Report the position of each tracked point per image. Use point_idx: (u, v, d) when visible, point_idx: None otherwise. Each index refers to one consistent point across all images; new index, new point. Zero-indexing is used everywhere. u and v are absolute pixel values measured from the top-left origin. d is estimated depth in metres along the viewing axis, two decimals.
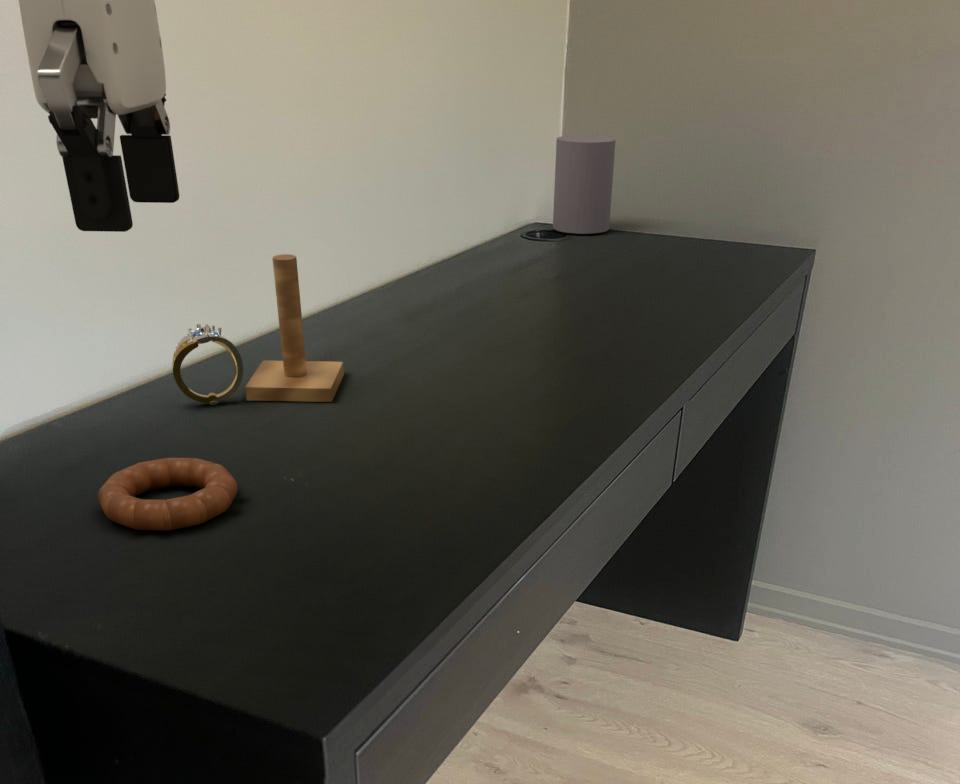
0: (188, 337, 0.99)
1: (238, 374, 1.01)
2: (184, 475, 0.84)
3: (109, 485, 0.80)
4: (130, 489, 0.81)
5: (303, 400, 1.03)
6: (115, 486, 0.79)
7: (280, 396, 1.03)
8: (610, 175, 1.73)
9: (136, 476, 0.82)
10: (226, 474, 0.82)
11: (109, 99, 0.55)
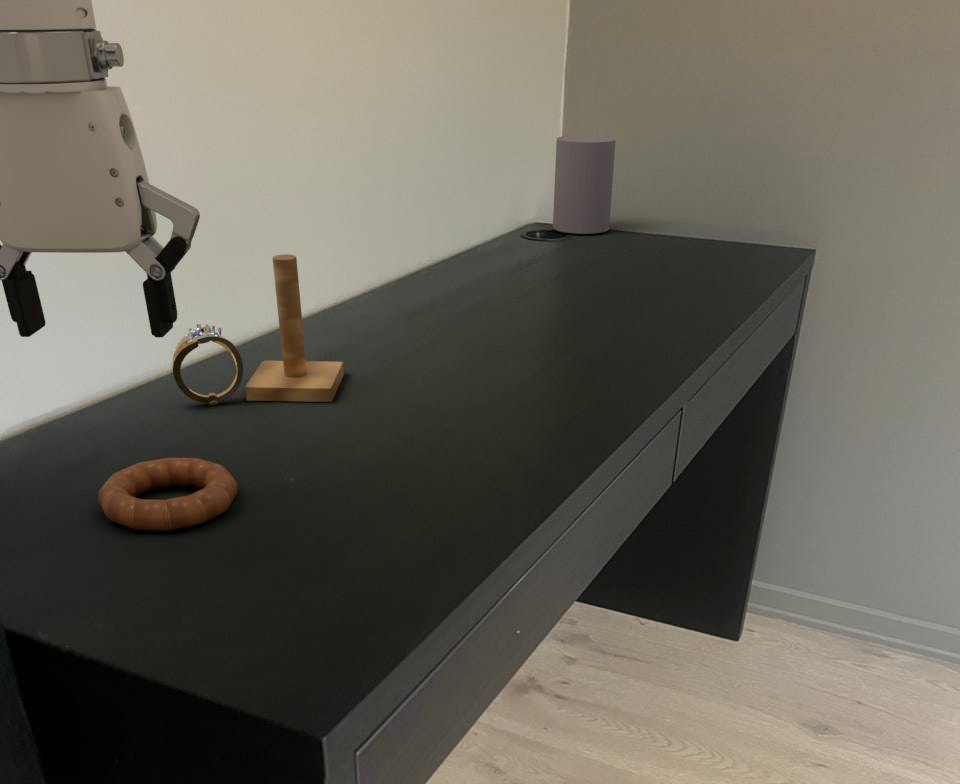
0: (188, 337, 0.99)
1: (238, 374, 1.01)
2: (184, 475, 0.84)
3: (109, 485, 0.80)
4: (130, 489, 0.81)
5: (303, 400, 1.03)
6: (115, 486, 0.79)
7: (280, 396, 1.03)
8: (610, 175, 1.73)
9: (136, 476, 0.82)
10: (226, 474, 0.82)
11: None
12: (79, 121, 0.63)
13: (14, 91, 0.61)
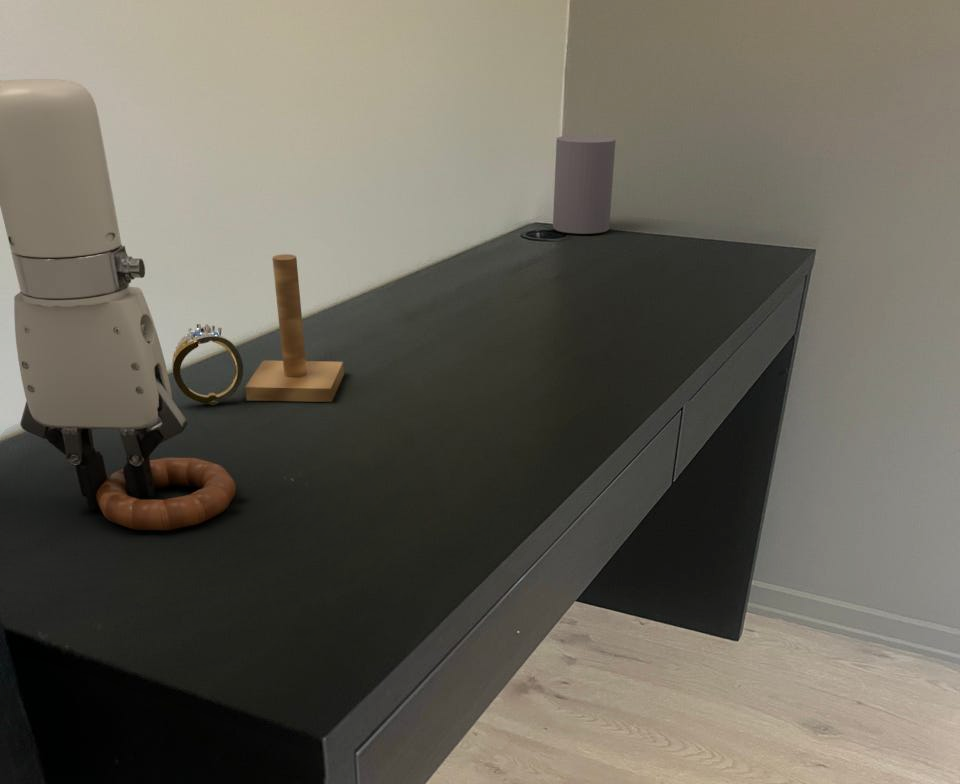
0: (188, 337, 0.99)
1: (238, 374, 1.01)
2: (182, 475, 0.84)
3: (107, 485, 0.80)
4: None
5: (303, 400, 1.03)
6: (113, 486, 0.79)
7: (280, 396, 1.03)
8: (610, 175, 1.73)
9: None
10: (224, 474, 0.82)
11: None
12: (105, 326, 0.72)
13: (49, 305, 0.70)
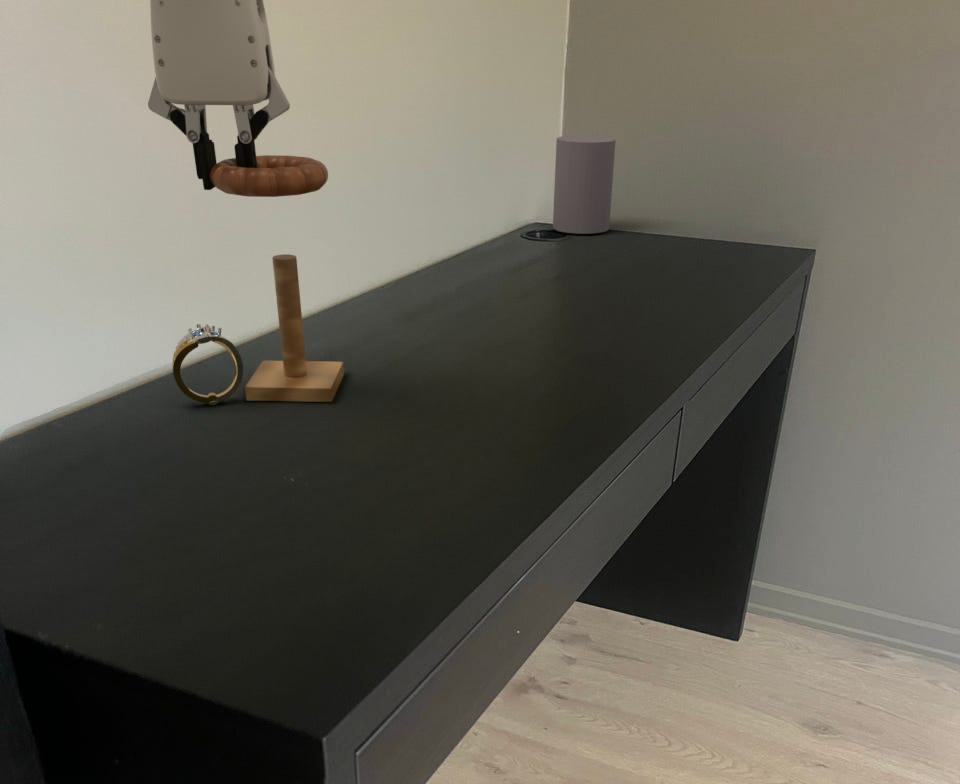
0: (188, 337, 0.99)
1: (238, 374, 1.01)
2: None
3: (220, 163, 0.92)
4: None
5: (303, 400, 1.03)
6: (225, 163, 0.92)
7: (280, 396, 1.03)
8: (610, 175, 1.73)
9: None
10: (319, 161, 0.95)
11: (161, 93, 0.89)
12: None
13: None
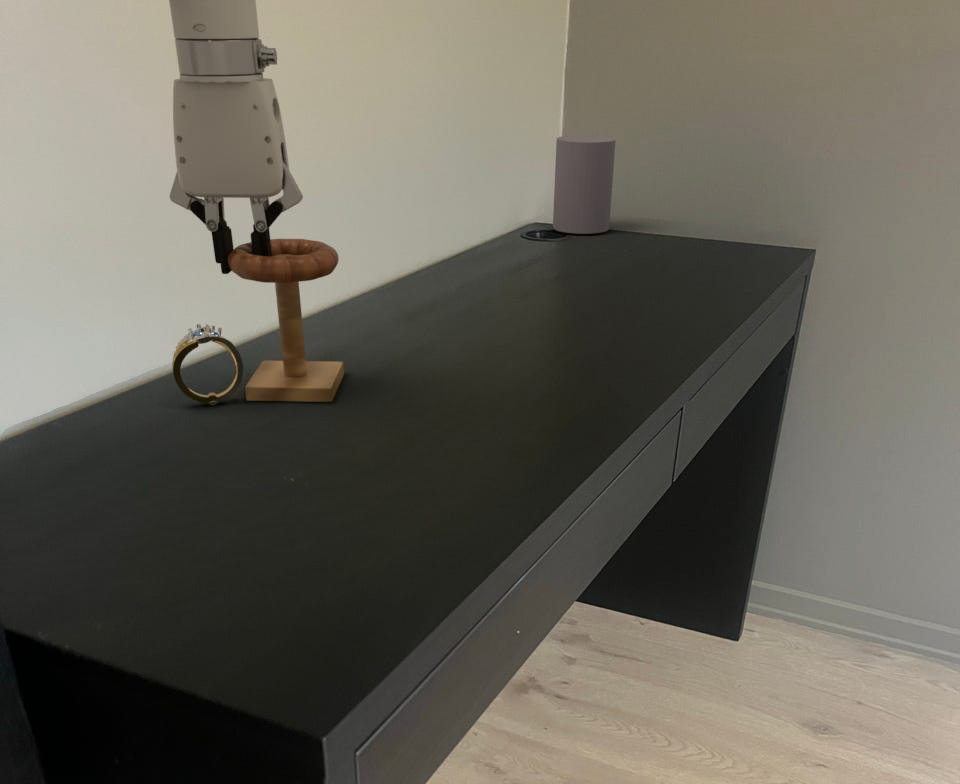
0: (188, 337, 0.99)
1: (238, 374, 1.01)
2: (293, 251, 1.02)
3: (237, 250, 0.98)
4: None
5: (303, 400, 1.03)
6: (242, 250, 0.98)
7: (280, 396, 1.03)
8: (610, 175, 1.73)
9: None
10: (330, 246, 1.00)
11: (182, 186, 0.95)
12: (246, 103, 0.90)
13: (205, 81, 0.88)
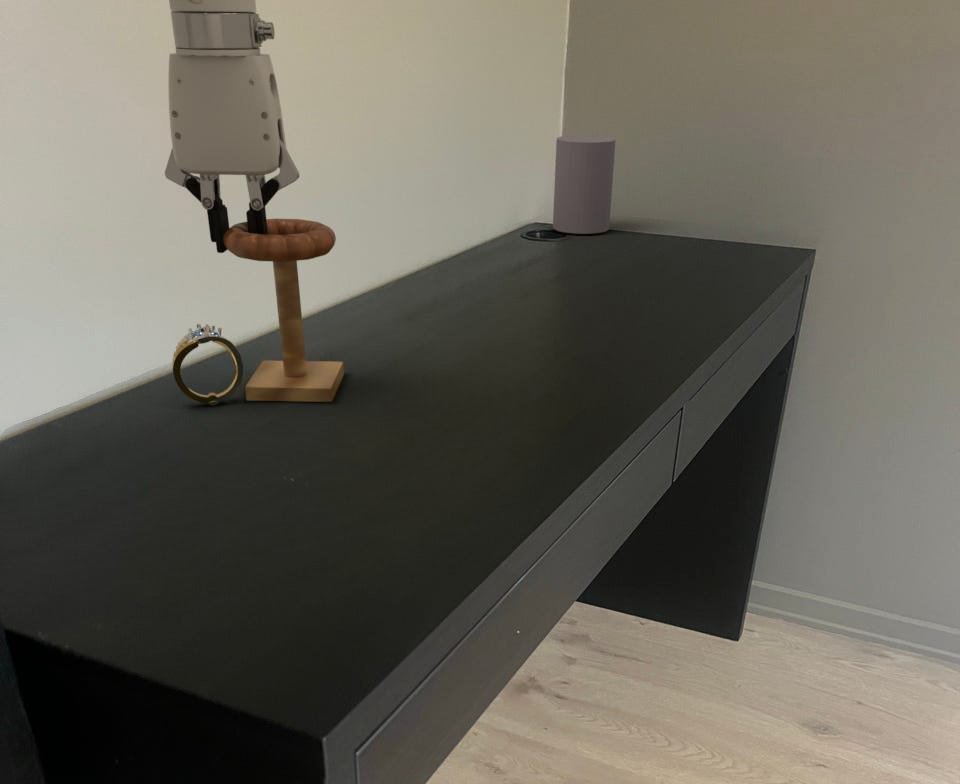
0: (188, 337, 0.99)
1: (238, 374, 1.01)
2: (290, 231, 1.01)
3: (233, 228, 0.97)
4: None
5: (303, 400, 1.03)
6: (238, 229, 0.97)
7: (280, 396, 1.03)
8: (610, 175, 1.73)
9: None
10: (327, 226, 0.99)
11: (177, 163, 0.94)
12: (243, 77, 0.89)
13: (201, 54, 0.87)
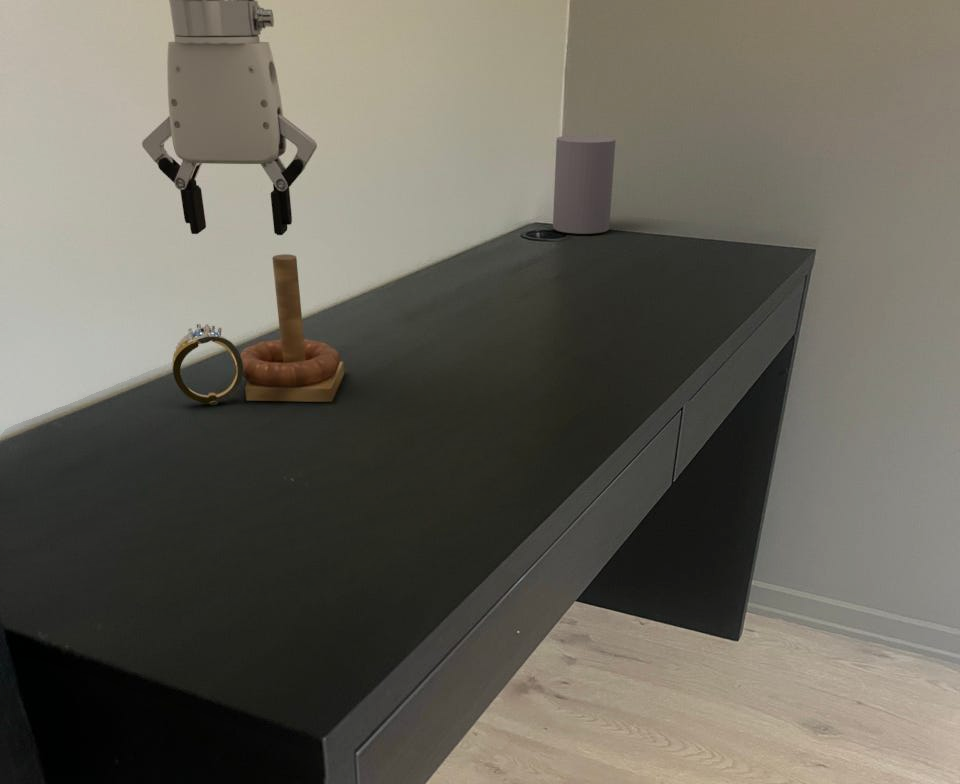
0: (188, 337, 0.99)
1: (238, 374, 1.01)
2: None
3: (245, 355, 1.04)
4: (259, 359, 1.05)
5: (303, 400, 1.03)
6: (249, 355, 1.04)
7: (280, 396, 1.03)
8: (610, 175, 1.73)
9: (262, 350, 1.06)
10: (332, 348, 1.06)
11: (176, 152, 0.93)
12: (242, 65, 0.88)
13: (200, 42, 0.86)
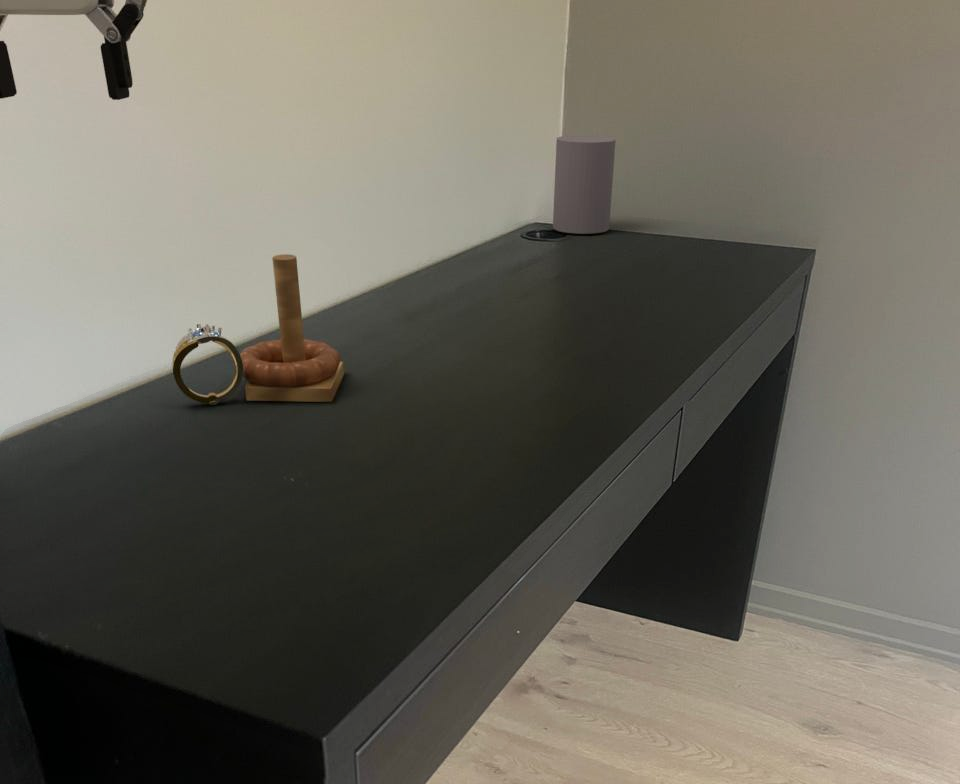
0: (188, 337, 0.99)
1: (238, 374, 1.01)
2: None
3: (245, 355, 1.04)
4: (259, 359, 1.05)
5: (303, 400, 1.03)
6: (249, 355, 1.04)
7: (280, 396, 1.03)
8: (610, 175, 1.73)
9: (262, 350, 1.06)
10: (332, 348, 1.06)
11: None
12: None
13: None
